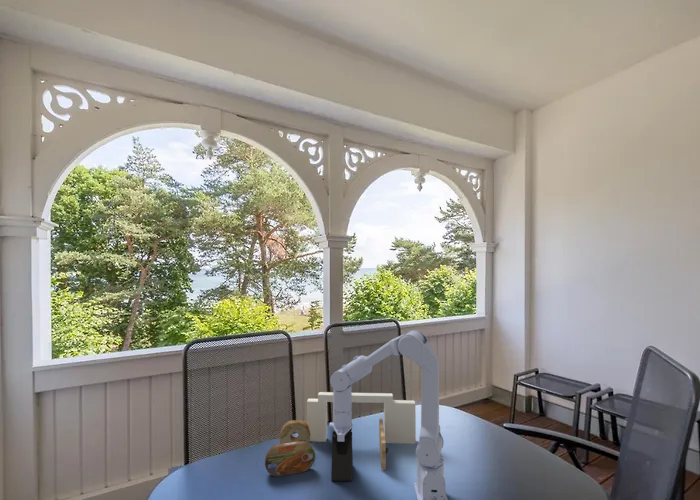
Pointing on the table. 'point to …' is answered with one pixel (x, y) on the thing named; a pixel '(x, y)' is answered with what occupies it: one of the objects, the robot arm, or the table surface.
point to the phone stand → (342, 462)
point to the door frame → (395, 411)
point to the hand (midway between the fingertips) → (342, 454)
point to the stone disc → (294, 427)
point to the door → (382, 444)
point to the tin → (289, 458)
